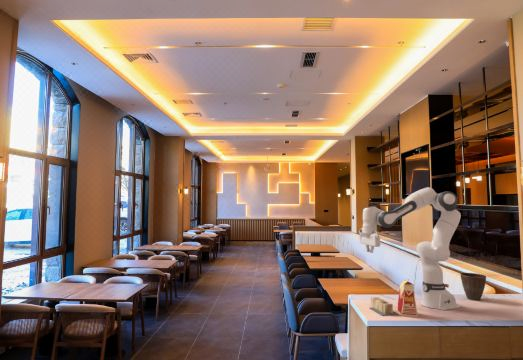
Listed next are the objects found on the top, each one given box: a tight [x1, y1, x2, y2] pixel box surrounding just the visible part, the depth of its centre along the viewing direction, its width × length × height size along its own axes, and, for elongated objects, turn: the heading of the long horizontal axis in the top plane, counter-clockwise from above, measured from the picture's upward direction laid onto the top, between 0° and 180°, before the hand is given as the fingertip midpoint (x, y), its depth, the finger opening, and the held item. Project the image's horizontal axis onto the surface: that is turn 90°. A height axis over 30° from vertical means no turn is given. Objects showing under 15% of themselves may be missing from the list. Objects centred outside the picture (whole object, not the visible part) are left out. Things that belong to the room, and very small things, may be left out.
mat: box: [369, 306, 399, 317], centre depth 201 cm, size 10×14×1 cm
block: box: [370, 296, 394, 314], centre depth 203 cm, size 5×5×15 cm
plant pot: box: [459, 272, 487, 302], centre depth 231 cm, size 15×15×16 cm
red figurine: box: [396, 278, 419, 318], centre depth 198 cm, size 9×9×20 cm
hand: (369, 252), depth 225 cm, fingers open, 2 cm apart
